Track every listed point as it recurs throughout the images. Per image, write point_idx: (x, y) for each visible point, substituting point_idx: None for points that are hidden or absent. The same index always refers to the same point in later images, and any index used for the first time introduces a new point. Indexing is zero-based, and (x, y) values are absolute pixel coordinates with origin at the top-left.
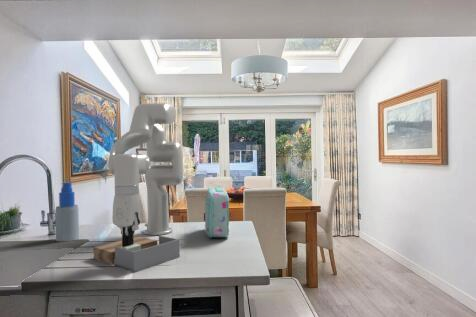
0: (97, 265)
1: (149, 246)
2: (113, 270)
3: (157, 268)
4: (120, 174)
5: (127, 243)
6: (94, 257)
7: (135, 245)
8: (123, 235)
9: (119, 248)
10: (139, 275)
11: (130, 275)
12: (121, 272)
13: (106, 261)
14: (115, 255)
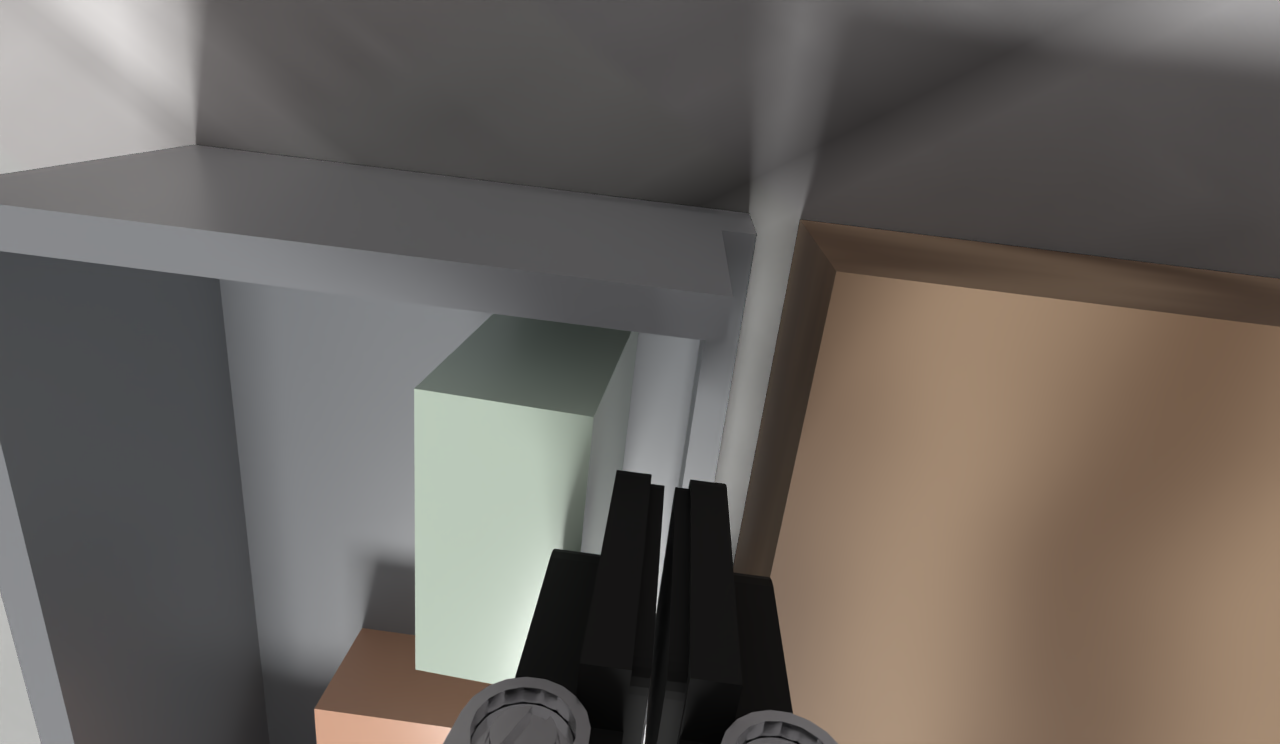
0: (1040, 75)
1: None
2: (550, 40)
3: None
4: None
5: (585, 557)
6: None
7: (483, 613)
8: (690, 687)
9: (512, 266)
10: (15, 89)
11: (115, 18)
12: (352, 41)
13: (995, 248)
14: (708, 247)
